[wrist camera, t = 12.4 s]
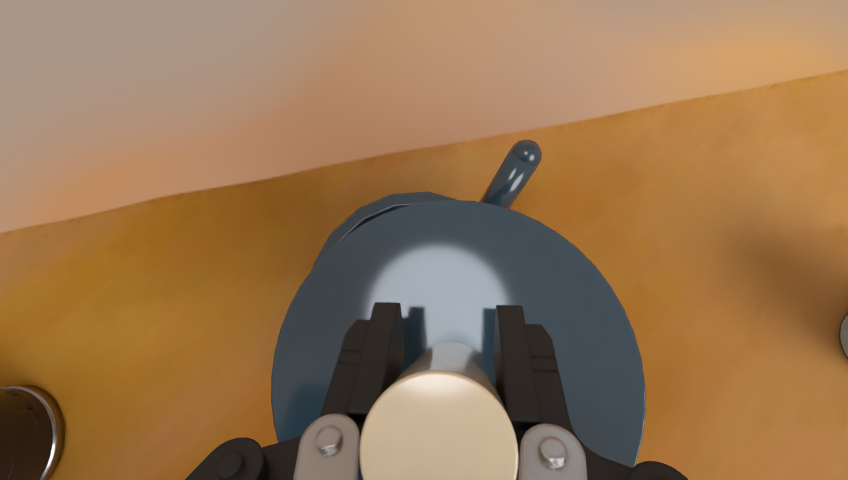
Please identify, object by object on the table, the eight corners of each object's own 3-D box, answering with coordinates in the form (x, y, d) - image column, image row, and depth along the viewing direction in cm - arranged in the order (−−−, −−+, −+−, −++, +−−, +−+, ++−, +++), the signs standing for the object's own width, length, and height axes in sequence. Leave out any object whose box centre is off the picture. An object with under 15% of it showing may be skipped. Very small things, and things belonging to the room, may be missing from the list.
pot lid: (489, 662, 14) (532, 1240, 5) (216, 403, 17) (-65, 506, 8) (706, 346, 15) (1040, 392, 7) (421, 145, 18) (379, -21, 9)
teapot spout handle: (348, 427, 30) (312, 461, 23) (327, 409, 31) (286, 437, 24) (532, 182, 32) (551, 145, 25) (511, 168, 32) (523, 128, 25)
